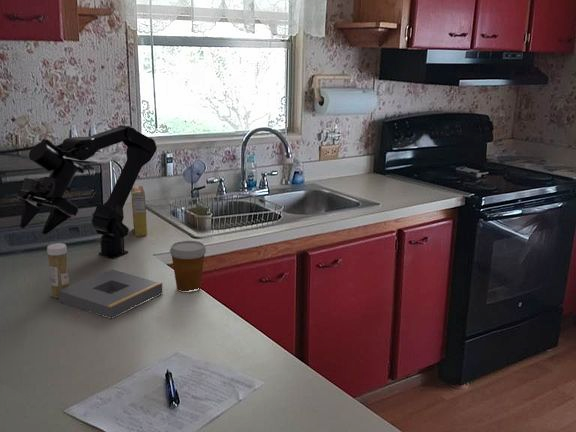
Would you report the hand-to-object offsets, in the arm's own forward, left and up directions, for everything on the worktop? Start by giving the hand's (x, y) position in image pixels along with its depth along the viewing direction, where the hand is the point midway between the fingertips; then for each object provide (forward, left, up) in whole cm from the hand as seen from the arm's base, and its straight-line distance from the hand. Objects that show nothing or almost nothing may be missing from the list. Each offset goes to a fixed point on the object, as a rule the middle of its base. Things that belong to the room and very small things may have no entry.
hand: (32, 230), depth 161 cm
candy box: (-48, -8, -14) cm, 51 cm away
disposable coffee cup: (-19, +37, -14) cm, 44 cm away
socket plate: (-3, +25, -14) cm, 29 cm away
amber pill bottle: (+3, +13, -14) cm, 20 cm away
